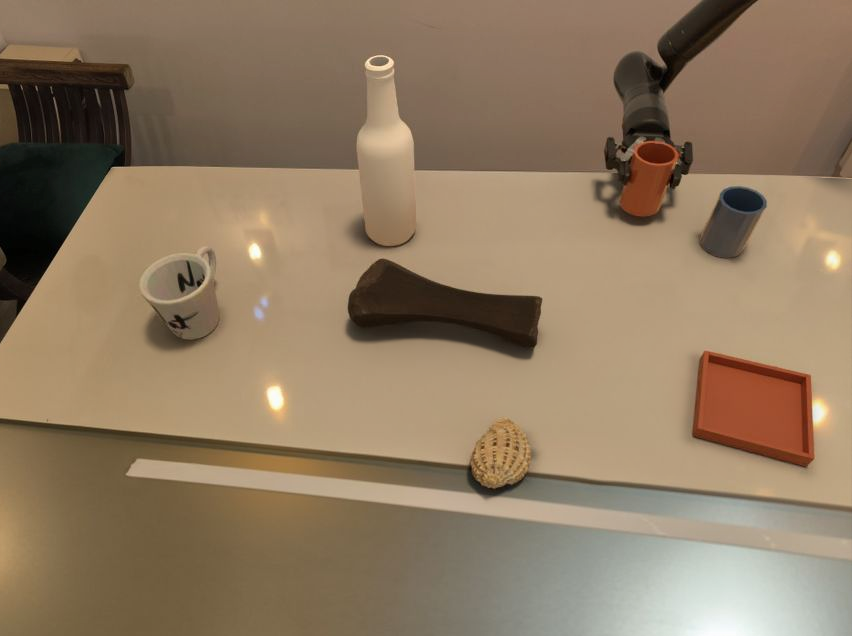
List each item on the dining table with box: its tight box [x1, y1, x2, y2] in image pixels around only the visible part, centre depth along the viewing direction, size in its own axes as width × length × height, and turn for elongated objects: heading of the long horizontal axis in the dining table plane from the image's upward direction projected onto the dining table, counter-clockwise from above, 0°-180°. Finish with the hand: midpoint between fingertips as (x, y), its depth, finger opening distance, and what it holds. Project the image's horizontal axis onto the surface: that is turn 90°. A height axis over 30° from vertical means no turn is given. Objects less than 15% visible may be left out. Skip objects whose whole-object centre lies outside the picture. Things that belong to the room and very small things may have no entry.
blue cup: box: [699, 185, 768, 259], centre depth 96 cm, size 7×7×9 cm
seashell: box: [470, 417, 532, 490], centre depth 76 cm, size 8×6×10 cm
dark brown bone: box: [347, 258, 543, 349], centre depth 90 cm, size 11×10×28 cm
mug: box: [138, 245, 220, 341], centre depth 93 cm, size 10×15×10 cm
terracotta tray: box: [692, 350, 815, 467], centre depth 79 cm, size 13×13×2 cm
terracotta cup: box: [619, 141, 678, 217], centre depth 100 cm, size 7×7×10 cm
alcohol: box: [355, 54, 417, 247], centre depth 94 cm, size 9×9×30 cm
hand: (650, 182), depth 97 cm, fingers closed on terracotta cup, 7 cm apart
